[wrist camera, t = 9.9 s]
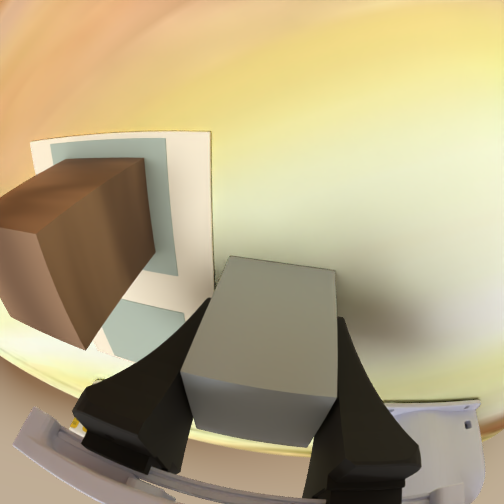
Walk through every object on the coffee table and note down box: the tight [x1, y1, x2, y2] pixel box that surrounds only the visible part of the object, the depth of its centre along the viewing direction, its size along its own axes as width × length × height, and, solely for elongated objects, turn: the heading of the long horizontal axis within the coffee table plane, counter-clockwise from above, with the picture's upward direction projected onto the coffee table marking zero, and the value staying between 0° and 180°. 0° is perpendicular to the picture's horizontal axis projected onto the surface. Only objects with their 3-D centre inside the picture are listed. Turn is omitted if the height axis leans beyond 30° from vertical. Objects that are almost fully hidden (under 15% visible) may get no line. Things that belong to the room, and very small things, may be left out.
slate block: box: [180, 256, 338, 448], centre depth 11 cm, size 4×4×6 cm
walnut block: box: [0, 157, 156, 350], centre depth 10 cm, size 4×4×6 cm
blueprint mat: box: [30, 131, 215, 363], centre depth 15 cm, size 10×16×1 cm, turn 177°
